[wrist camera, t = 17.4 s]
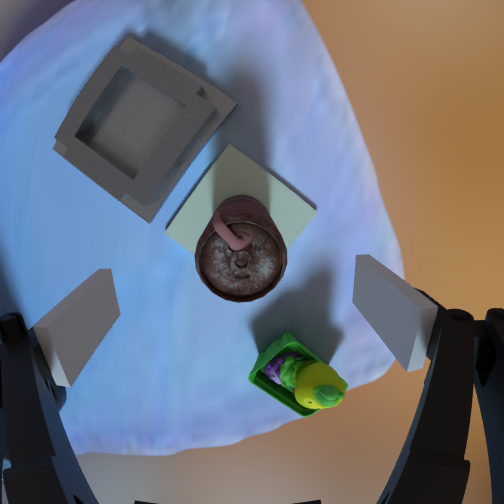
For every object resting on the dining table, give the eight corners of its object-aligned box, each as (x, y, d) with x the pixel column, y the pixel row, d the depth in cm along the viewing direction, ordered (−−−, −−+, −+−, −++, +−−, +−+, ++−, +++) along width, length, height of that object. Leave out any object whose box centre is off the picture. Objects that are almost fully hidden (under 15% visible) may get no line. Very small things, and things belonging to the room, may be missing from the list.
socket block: (151, 221, 32) (142, 228, 29) (57, 149, 29) (41, 148, 26) (237, 104, 29) (237, 97, 26) (130, 39, 26) (120, 28, 23)
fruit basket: (244, 354, 38) (245, 416, 27) (294, 311, 36) (313, 367, 25) (300, 395, 40) (314, 453, 29) (347, 358, 39) (374, 413, 28)
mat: (250, 292, 35) (250, 294, 35) (165, 232, 33) (164, 233, 32) (316, 211, 33) (317, 212, 32) (229, 143, 30) (229, 143, 30)
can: (243, 180, 31) (244, 191, 18) (281, 226, 32) (308, 269, 19) (199, 217, 32) (170, 254, 18) (237, 260, 33) (235, 324, 20)
